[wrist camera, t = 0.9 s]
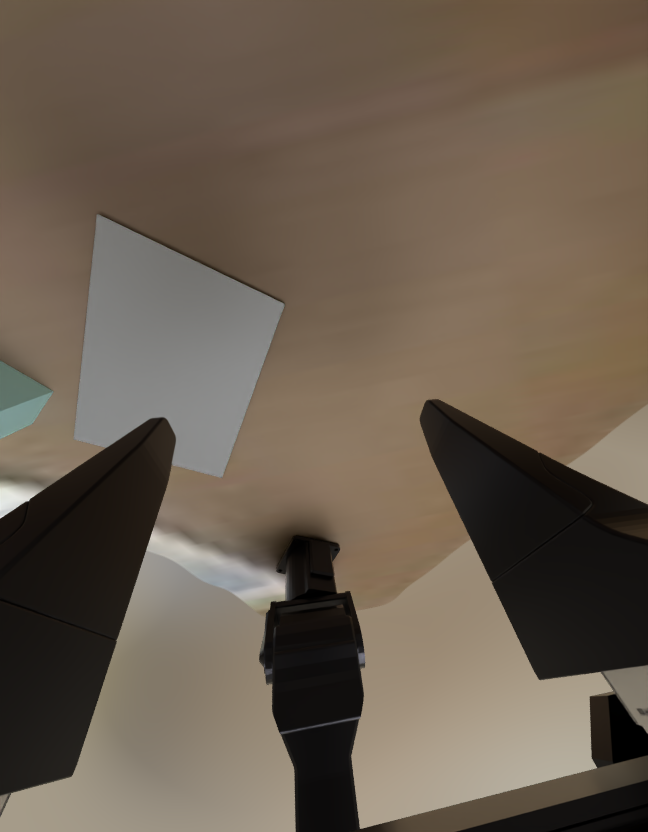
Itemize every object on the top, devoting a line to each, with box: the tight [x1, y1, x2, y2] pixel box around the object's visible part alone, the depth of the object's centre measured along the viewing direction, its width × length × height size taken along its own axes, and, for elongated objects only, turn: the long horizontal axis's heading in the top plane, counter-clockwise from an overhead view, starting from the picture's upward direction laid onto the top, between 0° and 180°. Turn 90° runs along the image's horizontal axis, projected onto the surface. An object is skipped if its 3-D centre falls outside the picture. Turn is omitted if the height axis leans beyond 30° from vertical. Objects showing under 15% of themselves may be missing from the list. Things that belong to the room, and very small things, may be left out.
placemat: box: [74, 214, 285, 478], centre depth 21 cm, size 18×13×1 cm
